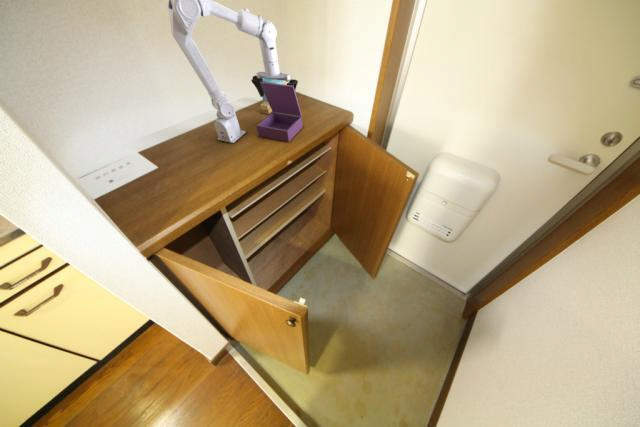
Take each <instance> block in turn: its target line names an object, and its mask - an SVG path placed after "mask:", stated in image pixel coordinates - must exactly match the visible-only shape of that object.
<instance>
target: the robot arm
mask: <svg viewBox="0 0 640 427" xmlns="http://www.w3.org/2000/svg"><path fill="white" fill-rule="evenodd" d="M167 9H168V14H169V15H168V16H169V24H170V25H169V26H170V33H171V35H172V37H173V39H174V41H175V42H176V44H177V45H178V47H179V48H180V50H181V52H182V53H183V55H184V56H185V58H186V60H187V61H188V63H189V64H190V66H191V68H192V69H193V70H194V72H195V74H196V75H197V77H198V78H199V80H200V82H201V84H202V85H203V87H204V88H205V90H206V92H207V94H208V96H209V97H210V100H211V101H210V102H211V105H212V107H213V108H214V109H215V110H216V119H215V121H214V122H213V128H214V129H215V132H216V135H217V140H218V141H222V142H227V143H231V144H234V143H235V142H236V141H238V140H239V139H240V138H241V137H243V136H245V135H246V133H247V131H246V130H242V129H241V127H240V123H239V120H238V116H237V113H236V106H235V104H234V103H233V102H232V101H230V100H229V98H228V97H227V95H226V94H225V92H224V91H223V90H222V88H221V86H220V85H219V83H218V81H217V80H216V78H215V76H214V74H213V73H212V70H211V69H210V67H209V65H208V63H207V62H206V60H205V59H204V57H203V55H202V54H201V52H200V50H199V47H198V46H197V44H196V42H195V41H194V38H193V32H194V28H195V25H196V24H197V23H198V22H199V20H200V19H201V17H203V18H205V17H208V16H210V15H211V16H214V17H216V18H219V19H222V20H225V21H227V22H230V23H232V24H234V25H235V27H236V29H237V30H238V31H239V32H242V33H245V34H248V35H250V36H252V37H254V38H258V42H259V46H260V51H261V57H262V62H263V68H264V71H258V72H256V75H254V76H252V79H251V80H250V81H251V83H252V84H253V85H254V87H255V88H256V90H257V92H258V95H259V96H260V98H262V97H263V96H264V91H263V89H262V86H261V84H260V82H263V79H264V78H265V79H274V80H282V81H283V82H284V81H285V82H287V83H286V85H291V86H294V89H295V91H296V90H297V86H298V83H299V80H297V79H293V78H291V75H290V74H288V73H284V72H280V65H279V57H278V50H277V44H276V38H277V36H278V30H277V29H276V27H275V25H274V23H273V22H272V21H271V20H268V19H267V20H266V19H263V16H262V15H259V14H258V15H255V14H254V13H251V12H250V9H248V8H246V7H243V8H239V9H238V10H236V11H235V10H233V9H232V8H229V7H227V6H225V5H223V4H221V3H218V2H216V1H214V0H168V2H167Z"/></svg>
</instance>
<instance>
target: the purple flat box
mask: <svg viewBox="0 0 640 427" xmlns="http://www.w3.org/2000/svg"><path fill="white" fill-rule="evenodd" d="M302 128H303V117H302V116H296V115H290V114H284V113H278V112H271V113H270V114H268V115H267V116H266V117H265V118H264V119H263V120H261V121H260V122H259V123H258V124H256V129H257V134H258V137H262V138H267V139H272V140H277V141H282V142H287V143H290V142H291V141H292V139H293V138H294V137H295V136H296V135H297V134H298V133H299V132H300V130H301V129H302Z"/></svg>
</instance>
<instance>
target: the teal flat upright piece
mask: <svg viewBox="0 0 640 427" xmlns="http://www.w3.org/2000/svg"><path fill="white" fill-rule="evenodd" d="M263 82H267V83H275V84H283V85H285V83H284V80H274V79H265V78H263ZM261 98H262V103H263V102H268V100H267V98H266V96H265V93H264V96H263V97H261Z"/></svg>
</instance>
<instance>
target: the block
mask: <svg viewBox="0 0 640 427" xmlns="http://www.w3.org/2000/svg"><path fill="white" fill-rule="evenodd" d="M259 105H260V111H261V113H262V114H265V115H270V114H271V113H272V110H271V107H270V105H269V103H268V102H263V101H262V103H261V104H259Z"/></svg>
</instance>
